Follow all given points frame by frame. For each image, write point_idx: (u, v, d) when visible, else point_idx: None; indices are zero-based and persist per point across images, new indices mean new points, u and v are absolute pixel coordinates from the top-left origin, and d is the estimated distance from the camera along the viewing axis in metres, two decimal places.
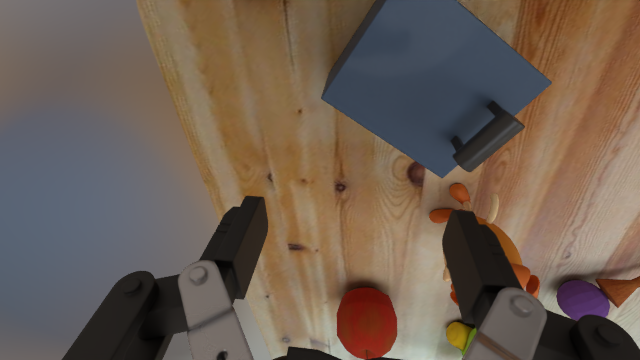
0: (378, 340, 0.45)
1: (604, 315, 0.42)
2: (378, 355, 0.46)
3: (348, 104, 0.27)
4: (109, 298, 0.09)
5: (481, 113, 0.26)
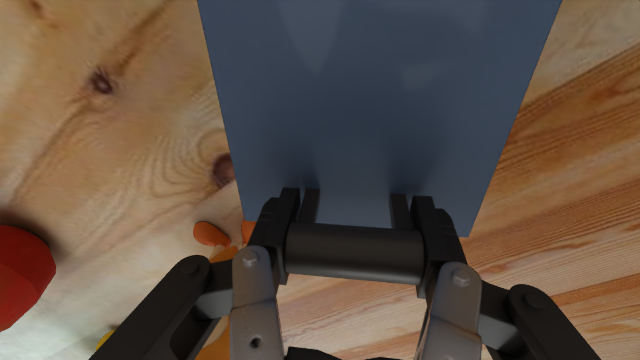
0: None
1: None
2: None
3: None
4: (169, 275, 0.09)
5: (376, 195, 0.14)
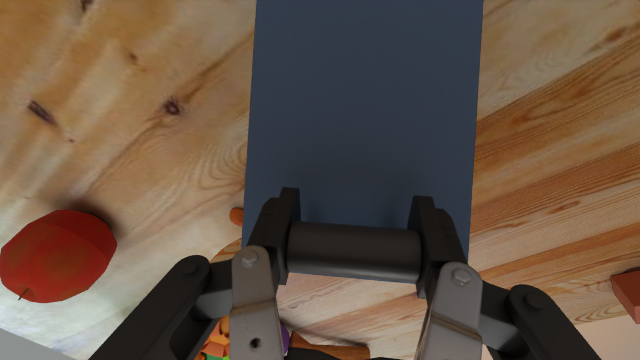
0: (56, 286, 0.33)
1: None
2: (40, 301, 0.34)
3: (271, 40, 0.16)
4: (169, 275, 0.09)
5: None
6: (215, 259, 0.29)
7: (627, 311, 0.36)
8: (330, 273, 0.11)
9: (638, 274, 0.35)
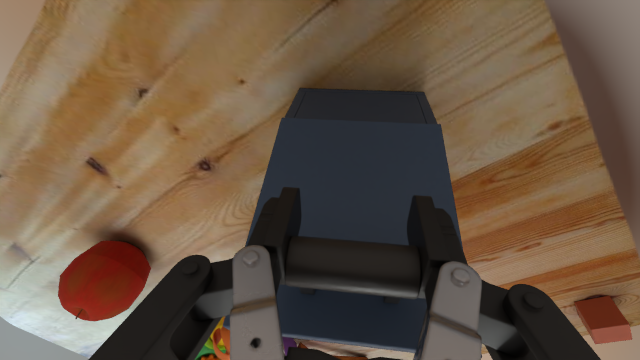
0: (105, 308, 0.40)
1: None
2: (91, 319, 0.40)
3: (288, 140, 0.21)
4: (170, 275, 0.09)
5: None
6: None
7: None
8: (329, 280, 0.11)
9: (596, 301, 0.41)
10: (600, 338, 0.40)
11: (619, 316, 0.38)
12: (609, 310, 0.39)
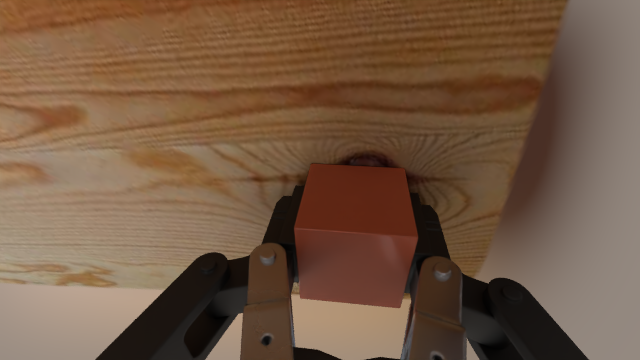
0: None
1: None
2: None
3: None
4: (188, 271, 0.09)
5: None
6: None
7: None
8: None
9: (366, 172, 0.12)
10: (317, 280, 0.11)
11: (401, 212, 0.10)
12: (384, 195, 0.11)
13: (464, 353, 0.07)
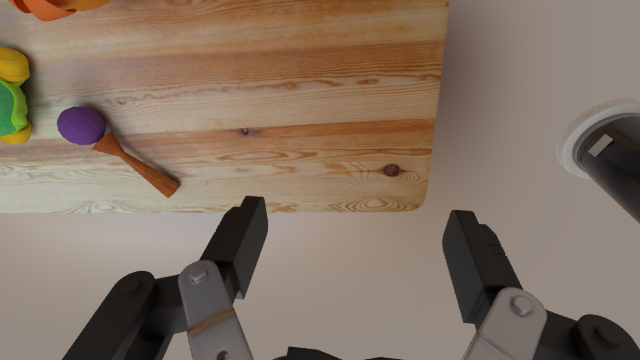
0: None
1: (77, 140, 0.46)
2: None
3: None
4: (109, 298, 0.09)
5: None
6: None
7: None
8: None
9: None
10: None
11: None
12: None
13: None
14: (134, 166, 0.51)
